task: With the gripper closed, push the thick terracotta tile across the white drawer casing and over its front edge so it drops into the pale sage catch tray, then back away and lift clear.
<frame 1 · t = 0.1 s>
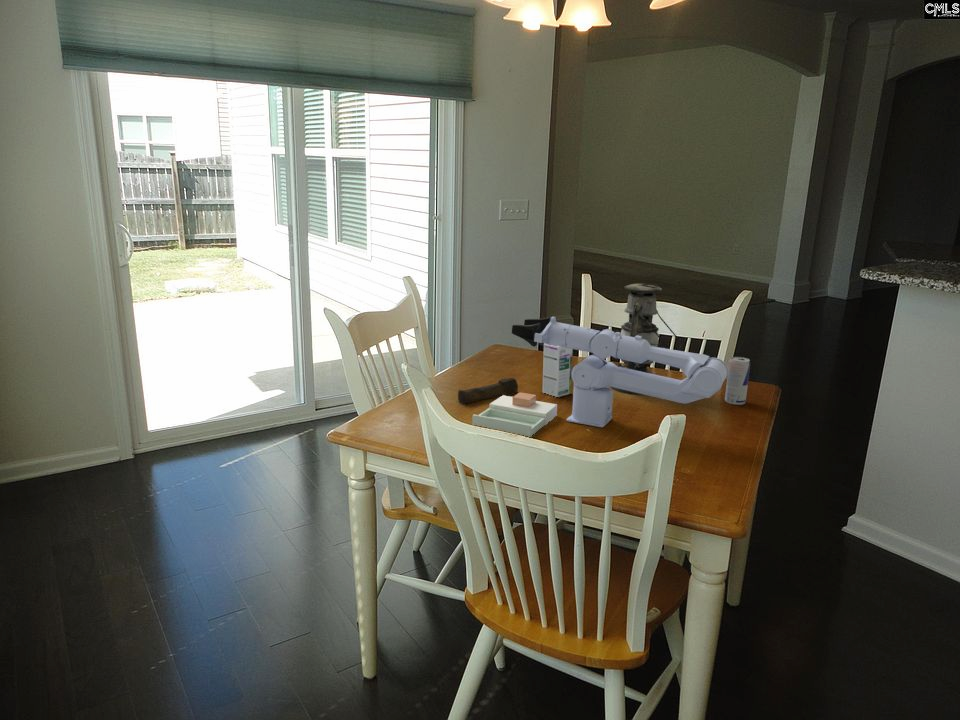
hand: (518, 326, 177), 22 cm above the table, tool horizontal, fingers open, 7 cm apart
energy drink: (734, 402, 190), on the table
terracotta tile: (524, 403, 176), point 3 cm above the table, touching white drawer casing
white drawer casing: (523, 415, 177), on the table
syrup box: (556, 394, 194), on the table
catch tray: (508, 426, 169), on the table
lantern: (643, 388, 201), on the table
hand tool: (488, 398, 190), on the table
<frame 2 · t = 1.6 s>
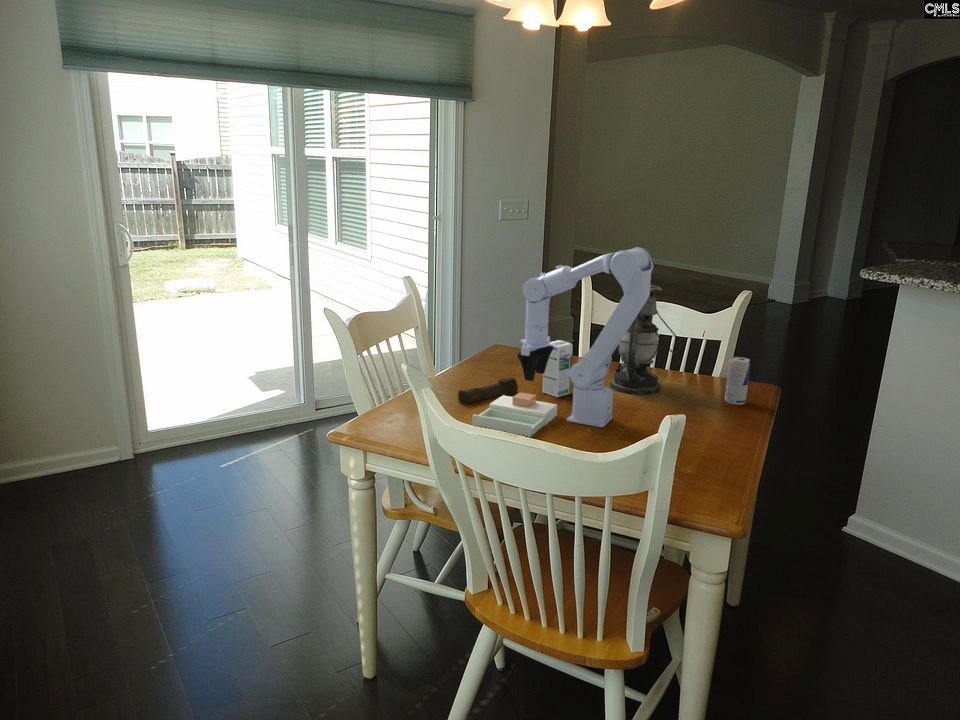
hand: (534, 376, 180), 8 cm above the table, tool pointing down, fingers open, 7 cm apart
nothing on the table moved.
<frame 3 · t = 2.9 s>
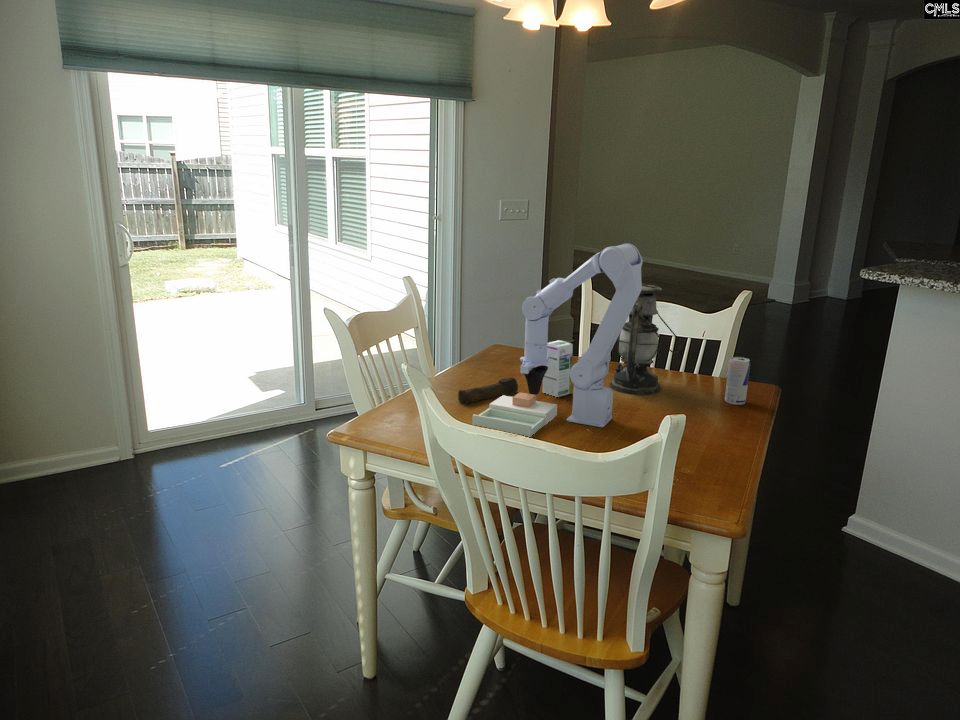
hand: (534, 393, 182), 4 cm above the table, tool pointing down, fingers closed
nothing on the table moved.
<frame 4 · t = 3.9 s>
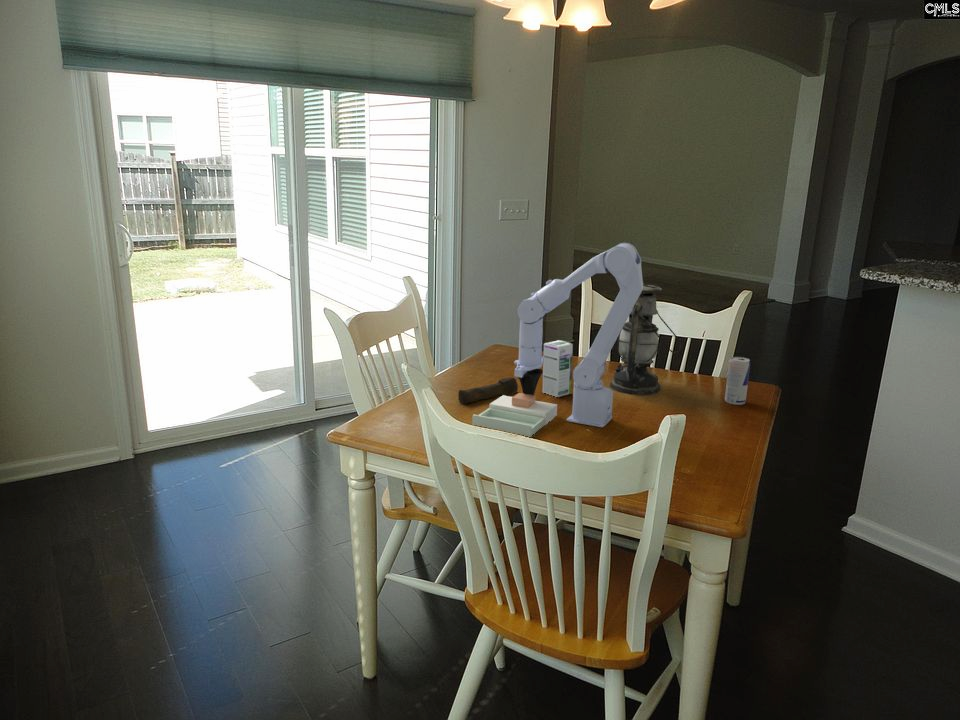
hand: (528, 397, 178), 4 cm above the table, tool pointing down, fingers closed
terracotta tile: (523, 404, 176), point 3 cm above the table, touching gripper, white drawer casing
everything else where it was.
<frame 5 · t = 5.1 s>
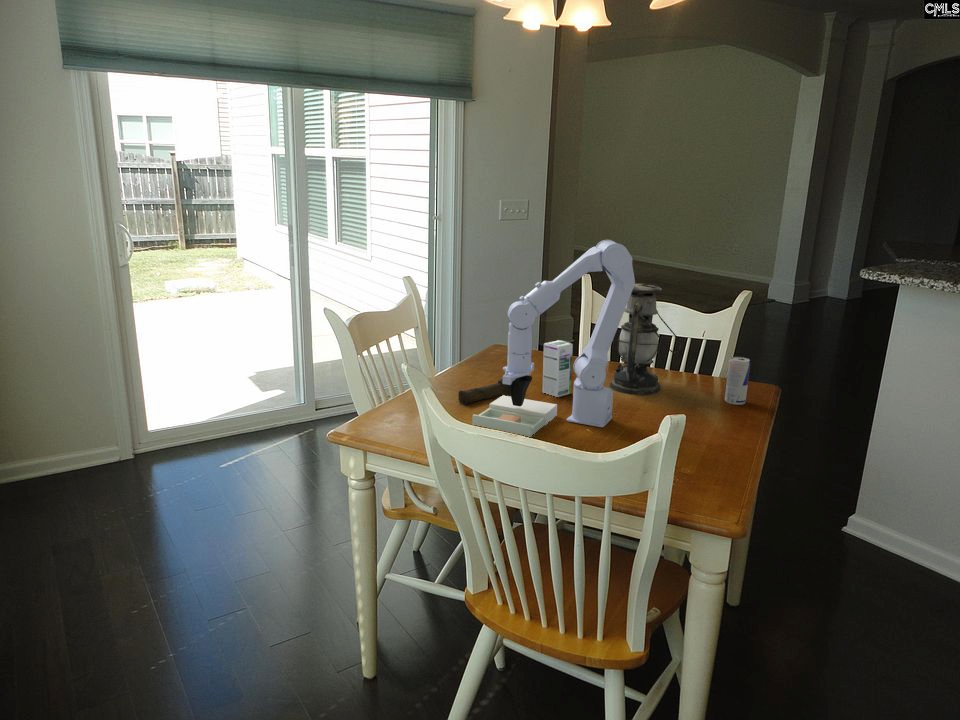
hand: (517, 405, 173), 4 cm above the table, tool pointing down, fingers closed
terracotta tile: (508, 418, 168), point 2 cm above the table, tilted 180°, touching catch tray
everything else where it was.
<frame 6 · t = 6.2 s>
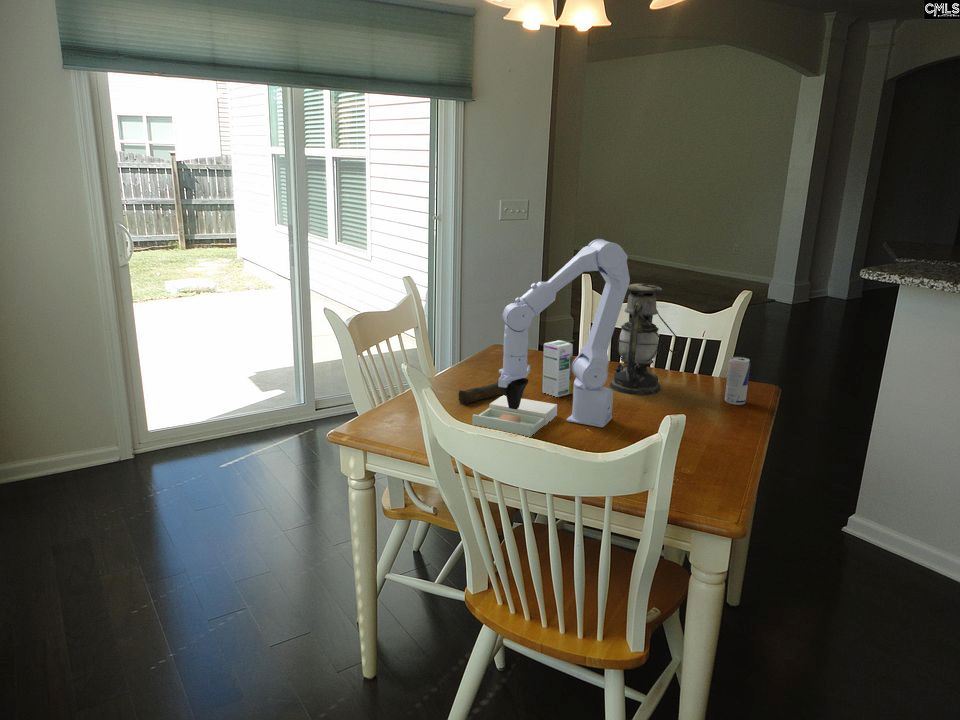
hand: (513, 408, 170), 4 cm above the table, tool pointing down, fingers closed
nothing on the table moved.
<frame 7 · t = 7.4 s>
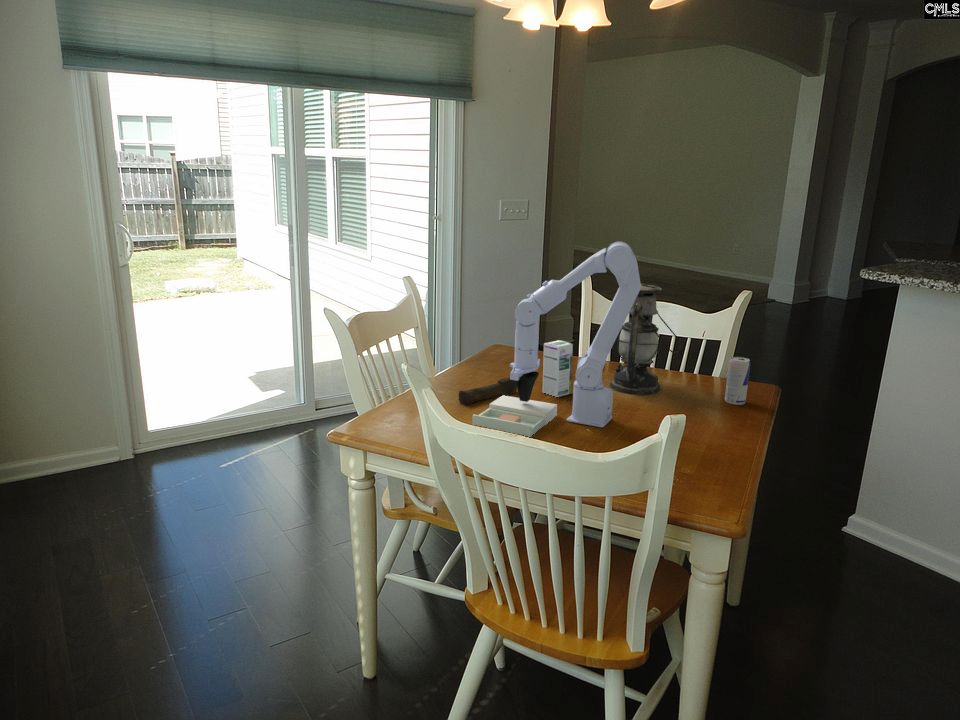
hand: (524, 400, 176), 4 cm above the table, tool pointing down, fingers closed
nothing on the table moved.
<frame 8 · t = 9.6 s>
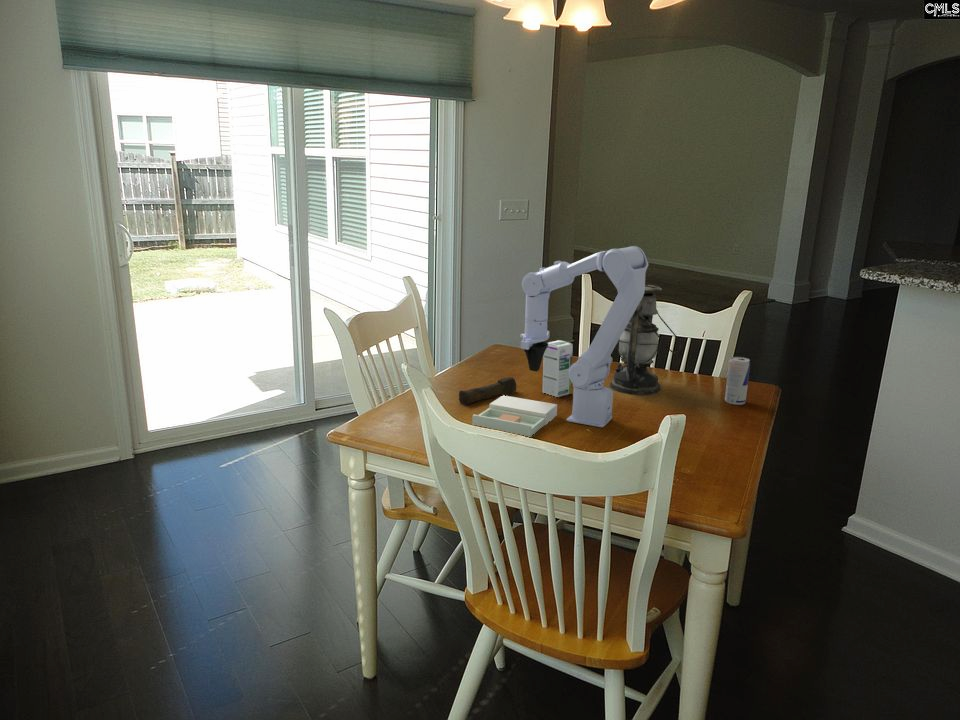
hand: (534, 370, 182), 9 cm above the table, tool pointing down, fingers closed
nothing on the table moved.
at the end: terracotta tile inside the target area on the catch tray (0.7 cm from its centre), point 2.4 cm above the catch tray's base; terracotta tile moved 10.2 cm from its start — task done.
